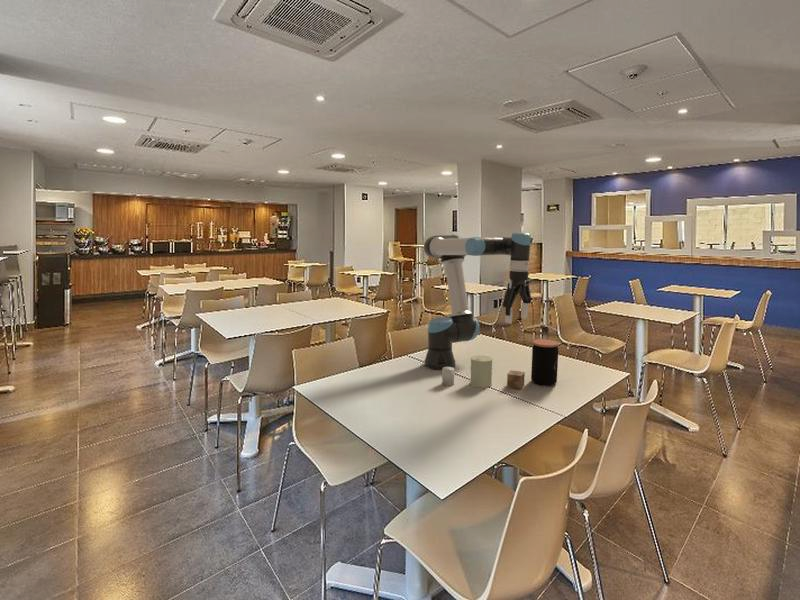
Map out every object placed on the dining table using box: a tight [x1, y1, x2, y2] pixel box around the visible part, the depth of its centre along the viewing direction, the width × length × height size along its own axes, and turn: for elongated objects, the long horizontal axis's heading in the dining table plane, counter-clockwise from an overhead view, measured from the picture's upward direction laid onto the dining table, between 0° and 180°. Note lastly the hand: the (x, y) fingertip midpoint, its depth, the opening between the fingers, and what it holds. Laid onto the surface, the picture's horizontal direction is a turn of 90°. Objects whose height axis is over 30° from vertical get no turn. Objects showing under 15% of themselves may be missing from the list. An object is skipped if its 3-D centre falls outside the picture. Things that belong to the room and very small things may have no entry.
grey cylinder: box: [441, 367, 455, 387], centre depth 185 cm, size 5×5×7 cm
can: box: [469, 354, 493, 389], centre depth 185 cm, size 9×9×12 cm
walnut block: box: [506, 369, 526, 391], centre depth 182 cm, size 6×6×6 cm
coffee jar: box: [530, 338, 560, 387], centre depth 186 cm, size 11×11×18 cm
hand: (516, 320), depth 183 cm, fingers open, 13 cm apart
